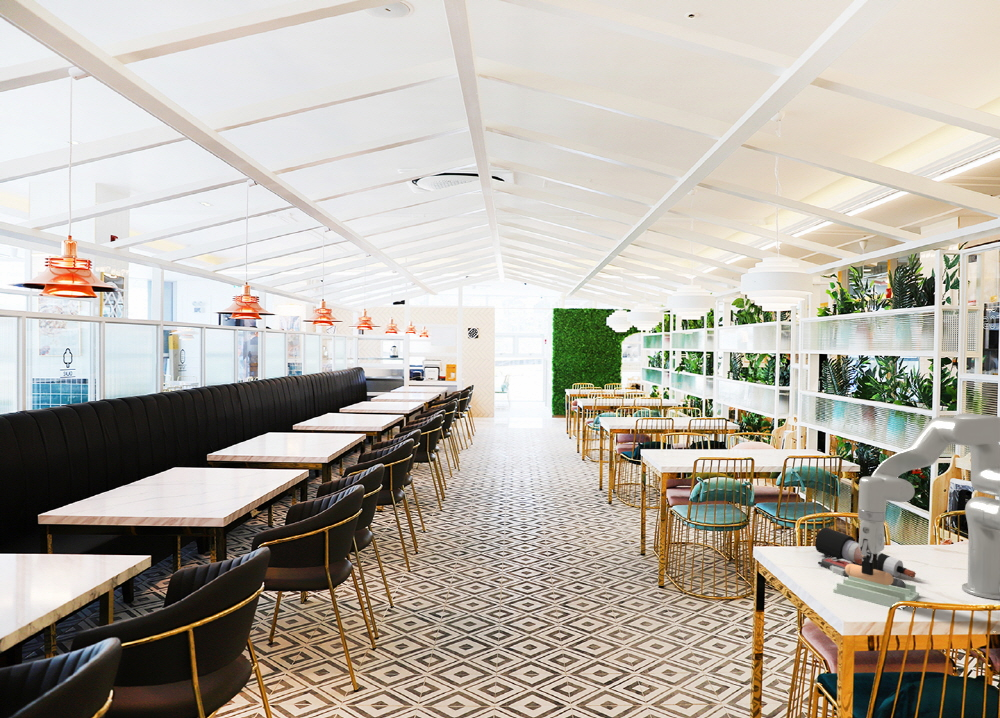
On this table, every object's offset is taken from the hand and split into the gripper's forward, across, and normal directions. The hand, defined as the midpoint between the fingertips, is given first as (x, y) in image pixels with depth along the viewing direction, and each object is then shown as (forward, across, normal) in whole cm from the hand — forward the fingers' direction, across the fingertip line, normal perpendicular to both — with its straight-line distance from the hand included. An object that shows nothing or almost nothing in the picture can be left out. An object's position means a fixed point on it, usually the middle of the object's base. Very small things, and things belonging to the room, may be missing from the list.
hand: (869, 572), depth 207 cm
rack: (+8, +6, 0) cm, 10 cm away
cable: (+8, +34, +12) cm, 37 cm away
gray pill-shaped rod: (+5, +11, 0) cm, 13 cm away
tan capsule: (+1, 0, 0) cm, 1 cm away
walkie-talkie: (+9, +22, +14) cm, 27 cm away
